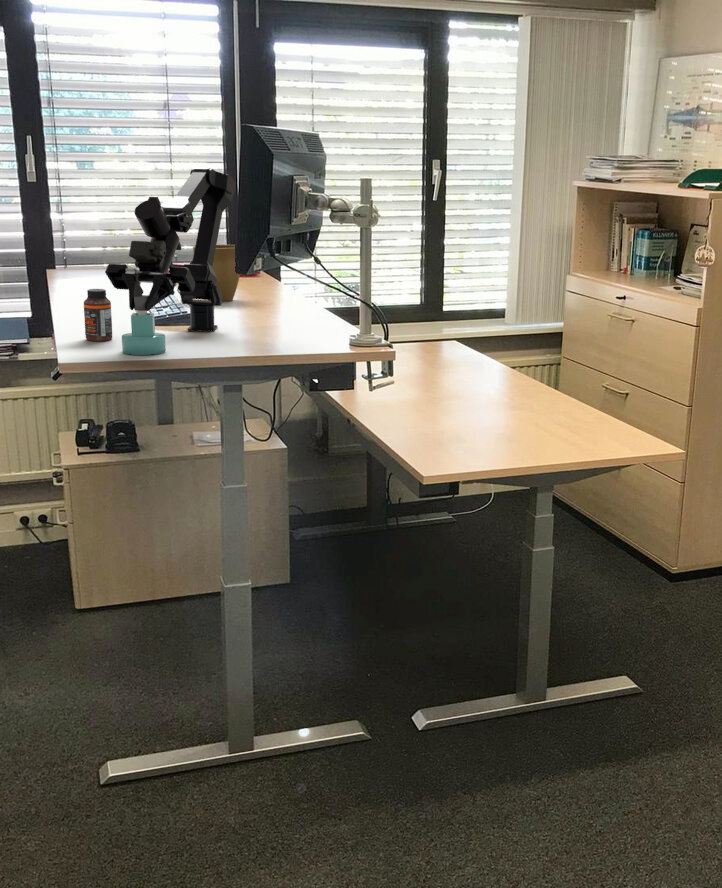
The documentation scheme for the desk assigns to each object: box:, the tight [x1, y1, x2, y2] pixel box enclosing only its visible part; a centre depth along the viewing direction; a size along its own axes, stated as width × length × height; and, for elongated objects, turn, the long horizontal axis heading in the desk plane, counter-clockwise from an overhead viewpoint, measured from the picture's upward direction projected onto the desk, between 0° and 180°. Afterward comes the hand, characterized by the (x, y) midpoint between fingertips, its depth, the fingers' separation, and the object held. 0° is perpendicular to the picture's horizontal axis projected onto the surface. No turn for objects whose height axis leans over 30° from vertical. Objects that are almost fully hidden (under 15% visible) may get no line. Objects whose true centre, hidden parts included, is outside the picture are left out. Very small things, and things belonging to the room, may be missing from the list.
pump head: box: [133, 294, 149, 315], centre depth 195 cm, size 3×3×8 cm
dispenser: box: [121, 312, 166, 356], centre depth 196 cm, size 9×9×8 cm
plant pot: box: [192, 244, 241, 303], centre depth 273 cm, size 15×15×16 cm
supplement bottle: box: [83, 288, 113, 342], centre depth 208 cm, size 6×6×11 cm
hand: (138, 309), depth 193 cm, fingers closed on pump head, 3 cm apart
